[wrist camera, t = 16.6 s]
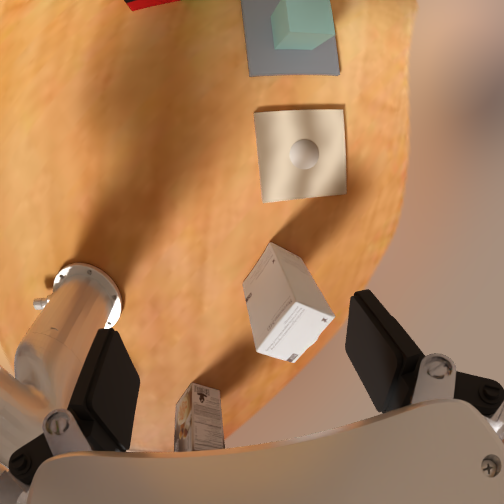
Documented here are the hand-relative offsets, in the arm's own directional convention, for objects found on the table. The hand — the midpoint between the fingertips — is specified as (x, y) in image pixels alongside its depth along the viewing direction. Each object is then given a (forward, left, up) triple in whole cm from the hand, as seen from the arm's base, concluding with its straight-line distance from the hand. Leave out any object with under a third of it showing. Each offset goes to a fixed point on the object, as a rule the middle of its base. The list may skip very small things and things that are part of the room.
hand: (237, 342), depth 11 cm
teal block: (+11, +20, -29) cm, 37 cm away
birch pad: (+12, +3, -30) cm, 32 cm away
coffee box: (-11, -41, -31) cm, 52 cm away
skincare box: (+6, -14, -31) cm, 34 cm away
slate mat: (+12, +20, -30) cm, 38 cm away
